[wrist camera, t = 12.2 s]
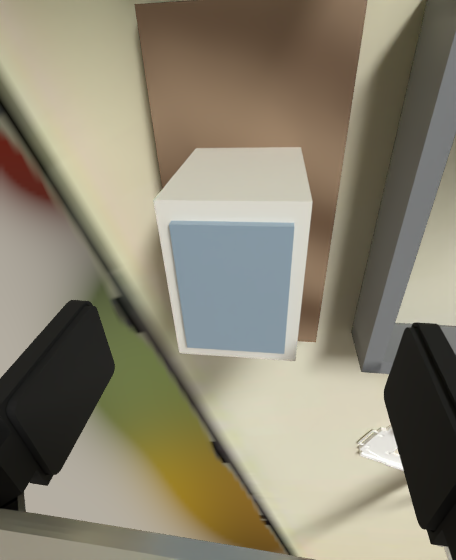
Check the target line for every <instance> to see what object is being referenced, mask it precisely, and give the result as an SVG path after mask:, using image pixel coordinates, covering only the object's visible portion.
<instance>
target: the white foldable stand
mask: <svg viewBox="0 0 456 560" xmlns="http://www.w3.org/2000/svg"><path fill="white" fill-rule="evenodd" d="M372 432H375V433H373V434H372V435H371V436H370V437H369V438H367V437H368V436H369V435H370V434H371V433H372ZM365 438H367V439H366V440H365V441H364V442H363V443H361V442H362V441H363V440H364V439H365ZM358 444H360V445H359V454H360V455H361V456H362V457H365V458H368V459H371V460H374V461H377V462H381V463H383V464H385V465H387V466H390V467H393V468H396V469H399V470H402V471H404V470H403V466H402V463H401V459H400V455H399V454H397V453H394V451H395V450H397V449H398V448H397V444H396V441H395V437H394V434H393V430H392V426H391V425H389V426H388V427H387V428H383V427H380V428H379V429H378V430H377V431H376V430H371V431H370V432H369V433H368V434H366V435H365V436H364V437H363V438H362V439H361V440H360V441H358ZM438 546H440V545H438ZM441 547H443V546H441ZM444 549H445V552H446V555H447V558H448V560H452V557H451V554H450V551H449V548H448V547H446V546H444Z"/></svg>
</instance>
